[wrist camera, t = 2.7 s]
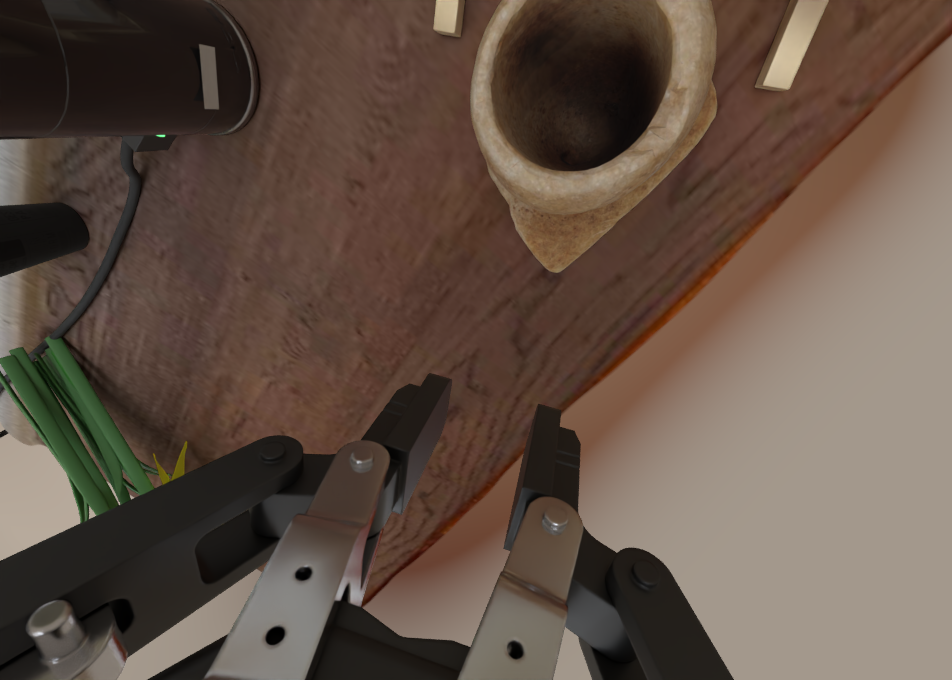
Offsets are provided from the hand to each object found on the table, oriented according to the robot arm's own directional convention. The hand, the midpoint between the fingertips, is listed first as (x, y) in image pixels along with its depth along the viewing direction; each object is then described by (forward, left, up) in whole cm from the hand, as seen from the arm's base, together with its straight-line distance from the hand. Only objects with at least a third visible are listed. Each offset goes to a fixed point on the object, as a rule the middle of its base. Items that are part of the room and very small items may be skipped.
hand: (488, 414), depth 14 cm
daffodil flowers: (-58, -9, -23) cm, 63 cm away
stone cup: (+4, +6, -23) cm, 24 cm away
